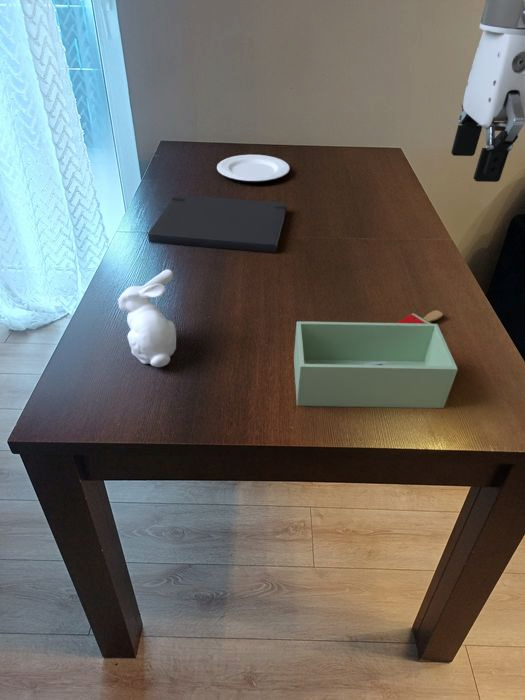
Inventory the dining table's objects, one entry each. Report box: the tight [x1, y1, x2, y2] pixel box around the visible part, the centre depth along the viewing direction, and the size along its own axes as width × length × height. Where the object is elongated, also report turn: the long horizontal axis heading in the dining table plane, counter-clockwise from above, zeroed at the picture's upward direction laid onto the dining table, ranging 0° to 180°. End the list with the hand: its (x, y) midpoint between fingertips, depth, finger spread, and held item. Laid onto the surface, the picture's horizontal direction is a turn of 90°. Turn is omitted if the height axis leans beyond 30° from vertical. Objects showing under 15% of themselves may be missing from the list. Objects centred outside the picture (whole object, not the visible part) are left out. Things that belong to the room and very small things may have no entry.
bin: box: [293, 320, 458, 409], centre depth 72 cm, size 21×10×8 cm, turn 90°
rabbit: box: [117, 269, 177, 368], centre depth 76 cm, size 12×9×12 cm
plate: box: [216, 154, 291, 184], centre depth 141 cm, size 21×21×2 cm
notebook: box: [147, 194, 287, 254], centre depth 114 cm, size 22×2×28 cm
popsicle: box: [396, 309, 444, 324], centre depth 85 cm, size 4×2×15 cm
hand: (473, 167), depth 67 cm, fingers open, 9 cm apart
